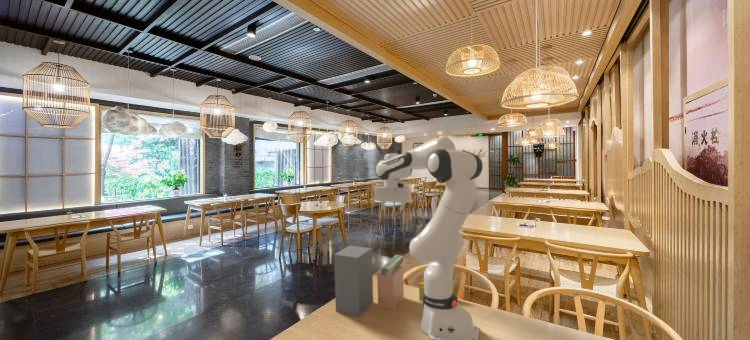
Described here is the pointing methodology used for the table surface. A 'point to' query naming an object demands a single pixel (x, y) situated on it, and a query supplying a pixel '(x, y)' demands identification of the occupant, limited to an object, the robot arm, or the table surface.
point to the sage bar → (391, 265)
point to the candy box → (421, 289)
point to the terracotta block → (390, 289)
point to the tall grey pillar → (353, 280)
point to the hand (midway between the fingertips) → (392, 209)
